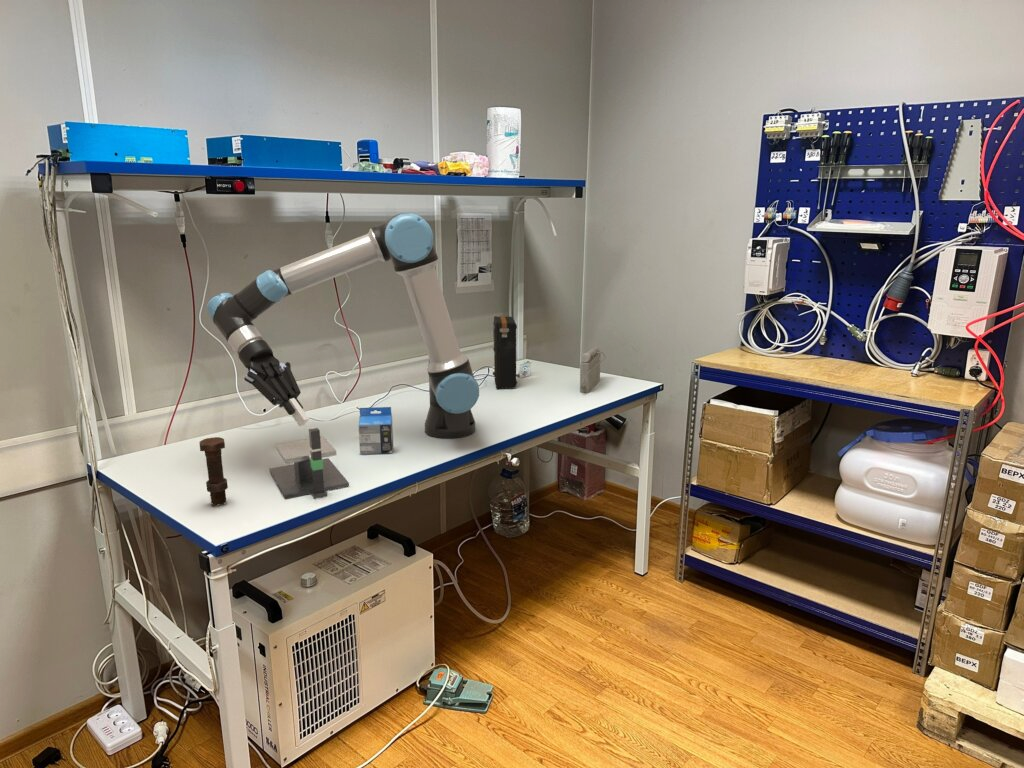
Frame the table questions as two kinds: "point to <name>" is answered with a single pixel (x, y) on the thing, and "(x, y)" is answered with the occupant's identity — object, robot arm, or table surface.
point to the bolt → (215, 469)
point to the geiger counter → (590, 369)
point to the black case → (504, 352)
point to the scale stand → (309, 473)
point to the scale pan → (302, 450)
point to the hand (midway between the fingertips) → (304, 422)
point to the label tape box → (375, 431)
